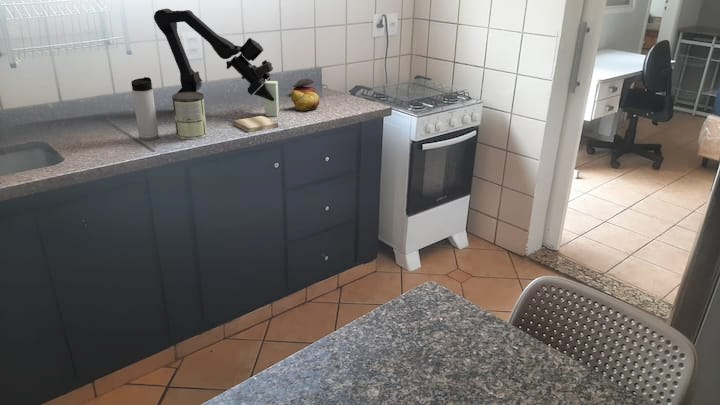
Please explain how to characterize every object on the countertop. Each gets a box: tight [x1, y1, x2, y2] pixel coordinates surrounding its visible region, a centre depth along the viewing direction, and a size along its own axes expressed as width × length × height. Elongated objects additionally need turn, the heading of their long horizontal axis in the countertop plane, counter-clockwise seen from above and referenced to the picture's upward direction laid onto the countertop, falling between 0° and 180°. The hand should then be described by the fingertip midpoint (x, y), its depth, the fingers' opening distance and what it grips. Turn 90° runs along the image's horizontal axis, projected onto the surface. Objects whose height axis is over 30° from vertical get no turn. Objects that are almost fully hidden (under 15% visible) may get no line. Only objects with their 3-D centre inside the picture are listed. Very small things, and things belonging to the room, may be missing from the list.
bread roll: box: [290, 90, 320, 112], centre depth 226 cm, size 13×10×8 cm
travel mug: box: [131, 76, 160, 142], centre depth 181 cm, size 6×7×20 cm
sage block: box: [264, 80, 280, 117], centre depth 214 cm, size 4×4×13 cm
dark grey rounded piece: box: [292, 78, 316, 93], centre depth 248 cm, size 11×10×10 cm
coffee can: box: [171, 91, 208, 140], centre depth 186 cm, size 10×10×14 cm
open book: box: [233, 115, 279, 133], centre depth 202 cm, size 12×12×2 cm
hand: (275, 98), depth 214 cm, fingers open, 6 cm apart
